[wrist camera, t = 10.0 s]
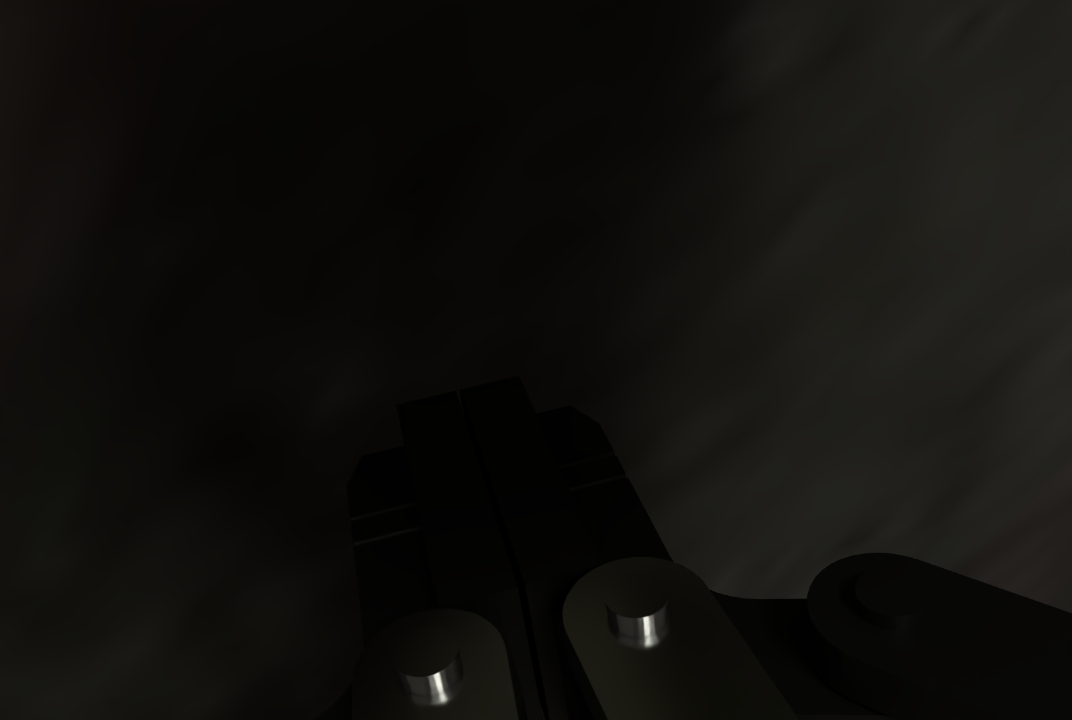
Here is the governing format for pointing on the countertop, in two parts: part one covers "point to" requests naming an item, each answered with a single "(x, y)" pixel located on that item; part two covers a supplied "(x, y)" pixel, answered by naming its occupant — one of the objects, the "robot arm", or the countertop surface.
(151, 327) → the countertop surface
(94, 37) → the countertop surface
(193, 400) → the countertop surface
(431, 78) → the countertop surface
